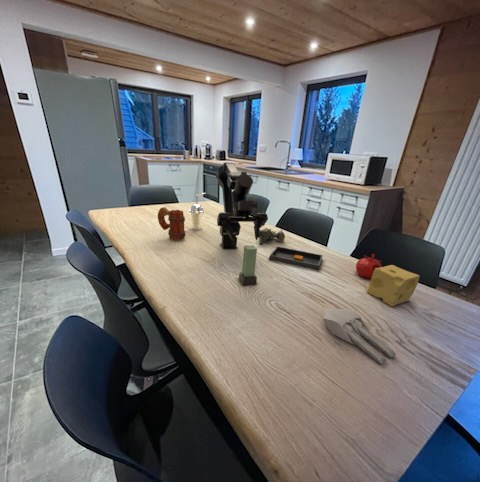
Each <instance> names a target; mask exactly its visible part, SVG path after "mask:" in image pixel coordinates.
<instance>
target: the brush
mask: <svg viewBox="0 0 480 482" xmlns="http://www.w3.org/2000/svg"><path fill="white" fill-rule="evenodd" d="M257 253H258V248H257V247H256V246H255V245H254V244H253V245H252V244H251V245H250V244H249V245H244V246H243V253H242V254H243V257H242V268H241V271H239V272H238V280H239V281H240V283H241V285H242V286H254V285H257V280H258V279H257V278H258V277H257V275H256V274H255V271H256V262H257Z"/></svg>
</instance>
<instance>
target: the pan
mask: <svg viewBox="0 0 480 482" xmlns="http://www.w3.org/2000/svg"><path fill="white" fill-rule="evenodd" d="M295 255H299V256H303V260H302V262H301V261H296V260H294V257H295ZM323 256H324V255H323V254H317V253H314V252H309V251H302V250H297V249H293V248H288V247H283V246H276V247H275V248H274V250H273V251H272V252H271V253H270V255H269V259H268V260H269V261H273V262H278V263H283V264H285V265H286V264H287V265H291V266H297V267H301V268H304V269H305V268H306V269H311V270H315V271H319V269H320V266H321V263H322V260H323Z"/></svg>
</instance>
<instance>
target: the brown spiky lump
mask: <svg viewBox="0 0 480 482" xmlns="http://www.w3.org/2000/svg"><path fill="white" fill-rule="evenodd" d="M285 238H286V234H285V233H284V232H283V230H282V229H280V230H279V231H278V232H277V230H276V231H274V230H272V229H271V228H267V227H266V228H263V229H260V230H259V235H258V243H259V244H261V246H262V245H264V244H265V243H266V241H267V240H270V241H271V240H272V239H276V241H277V242H280V243H284V241H285Z"/></svg>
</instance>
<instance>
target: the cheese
mask: <svg viewBox="0 0 480 482" xmlns="http://www.w3.org/2000/svg"><path fill="white" fill-rule="evenodd" d="M419 281H420V275H419V274H417V273H414V272H411V271H409V270H405V269H403V268H400V267H398V266H397V265H394V264H390V265H389V264H388V265H386V266H382V267H381V268H375V270H374V272H373V275H372V279H370V282H369V285H368V288H367V293H368V294H370V295H371V296H373V297H375V298H378V299H381V300H382V302H384V303H385V304H387V305H389V306H390V307H395V306H396V305H399V304H402V303H406V302H409V301H410V299H411V297H412V296H413V295H414V293H415V290H416V288H417V286H418V284H419Z"/></svg>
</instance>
